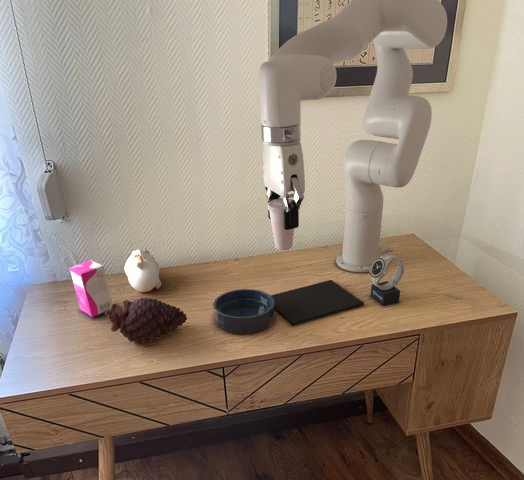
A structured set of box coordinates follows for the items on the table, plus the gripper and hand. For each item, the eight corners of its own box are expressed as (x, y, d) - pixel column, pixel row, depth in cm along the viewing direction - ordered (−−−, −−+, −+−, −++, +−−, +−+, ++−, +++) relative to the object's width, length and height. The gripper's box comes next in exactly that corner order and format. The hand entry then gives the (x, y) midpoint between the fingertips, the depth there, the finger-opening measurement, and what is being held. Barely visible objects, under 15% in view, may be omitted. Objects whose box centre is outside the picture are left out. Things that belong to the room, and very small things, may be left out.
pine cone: (176, 314, 122) (189, 288, 115) (185, 350, 118) (199, 326, 110) (98, 314, 114) (106, 286, 106) (105, 353, 109) (114, 327, 102)
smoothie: (295, 253, 111) (295, 187, 103) (266, 252, 112) (263, 186, 104) (300, 241, 116) (300, 177, 108) (272, 240, 117) (269, 177, 110)
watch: (363, 297, 126) (367, 255, 120) (392, 291, 129) (397, 249, 122) (375, 308, 122) (380, 264, 116) (405, 301, 124) (411, 257, 118)
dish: (258, 299, 127) (257, 284, 125) (285, 324, 117) (285, 308, 114) (205, 313, 122) (204, 297, 120) (229, 341, 112) (227, 324, 110)
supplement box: (101, 302, 128) (91, 258, 122) (114, 310, 125) (104, 265, 118) (79, 310, 125) (68, 266, 119) (92, 319, 121) (81, 274, 115)
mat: (330, 282, 134) (331, 279, 133) (363, 305, 123) (363, 302, 123) (264, 300, 127) (264, 297, 126) (292, 326, 116) (292, 322, 116)
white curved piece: (147, 262, 124) (137, 234, 135) (120, 282, 125) (112, 252, 136) (171, 287, 131) (159, 258, 142) (145, 306, 132) (136, 276, 143)
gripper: (321, 139, 96) (319, 232, 106) (277, 123, 109) (280, 207, 119) (284, 145, 93) (286, 240, 103) (244, 128, 106) (250, 214, 116)
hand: (283, 222), depth 111 cm, fingers closed on smoothie, 6 cm apart
